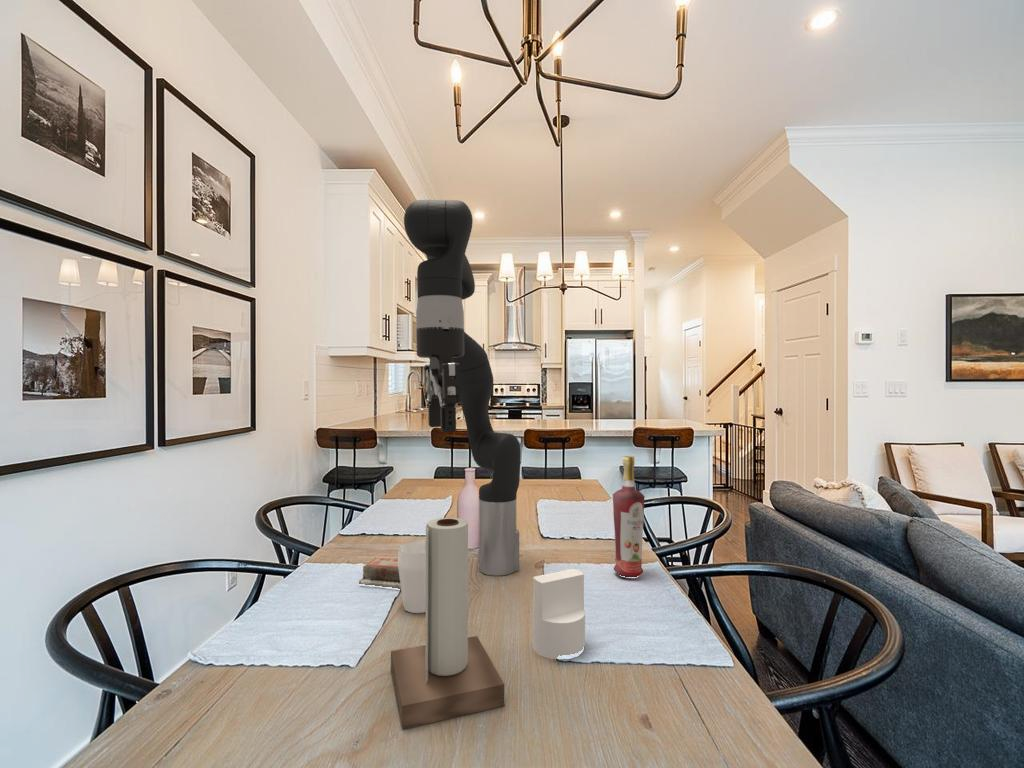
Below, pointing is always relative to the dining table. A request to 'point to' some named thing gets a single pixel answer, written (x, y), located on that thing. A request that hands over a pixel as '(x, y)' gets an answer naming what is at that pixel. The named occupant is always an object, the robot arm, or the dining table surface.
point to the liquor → (628, 524)
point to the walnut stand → (444, 686)
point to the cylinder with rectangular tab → (558, 613)
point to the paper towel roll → (446, 596)
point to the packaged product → (381, 573)
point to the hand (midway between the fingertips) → (441, 429)
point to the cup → (413, 575)
